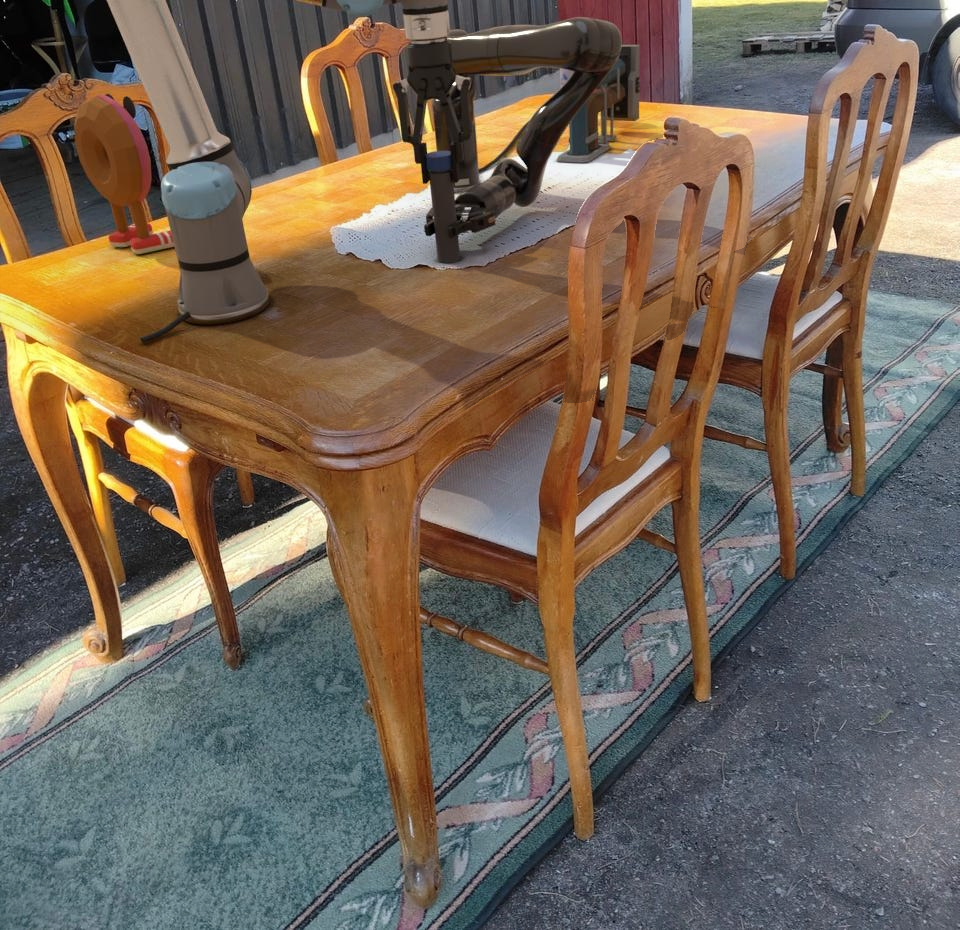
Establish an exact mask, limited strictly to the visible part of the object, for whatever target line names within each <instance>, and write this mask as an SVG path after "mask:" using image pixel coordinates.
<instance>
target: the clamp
mask: <svg viewBox="0 0 960 930" xmlns="http://www.w3.org/2000/svg"><path fill="white" fill-rule="evenodd" d="M640 50H641V45H640V44H622V47H621V52H620V55H619V57H618V59H617V61H616V63H615V65H614V66H613V68H612V69H611V70H610V72H609V73H608V74H607V75H606V77H605V78H604V79H603V80H602V82H601V83H600V84H599V85H598V87H597V88H596V89H595V90H598V91H596V92H593V93H592V94H591V96H590V97H589V98H588V99H587V101H586V102H585V103H584V104H583V106H582V107H581V108H580V110H579V111H578V112H577V114H576V115H575V116H574V118H573V119H572V120H571V122H570V123H569V125H568V128H569V129H568V130H569V136H568V143H569V149H568V150H566V151H564V152H562V153H560V154H558V156H557V158H556V161H558V162H566V163H583V164H584V163H589V162H591V161H593V160H594V159H596V158H597V157H599V156H601V155H602V154H604V153H605V152H607V151H609V150H610V149H611V148H612V147H611V146H610V142H614V141H616V140H618V136H617V135H615V134H614V121H615V122H636V121H637V120H640V77H641V76H640V72H641V71H640V69H641V67H640V66H641V65H640V64H641V63H640V61H641V60H640V59H641V51H640ZM599 113H600V132H599ZM608 121H610V127H609V128H610V131H609V134H608V124H607V123H608ZM599 133H600V134H599Z"/></svg>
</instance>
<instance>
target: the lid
mask: <svg viewBox="0 0 960 930" xmlns="http://www.w3.org/2000/svg"><path fill="white" fill-rule="evenodd" d="M425 157H426V158H425V161H426V169H427V170H428V171H435V172H437V171H446V170H450V169H452V163H451V151H437V150H435V151H430V152H427V154H426V155H425Z"/></svg>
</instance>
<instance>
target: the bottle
mask: <svg viewBox="0 0 960 930" xmlns="http://www.w3.org/2000/svg"><path fill="white" fill-rule="evenodd" d="M429 179H430V180H429V187H430V197H431V198H430V199H431V208H432V209H433V219H434V229H435V234H434V237H435V247H436V257H437V262H439V263H442V264H451V263H455V262H458V261H460V260H461V252H460V242H459V235H458V236H456V237H455V238H449V231H448V228H449V226H450V225H451V224H453V223H455V222H456V221H457V218H456V206H455V200H456V196H455V195H456V194H455V192H454V183H453V174H452V169H450V170H446V171H437V172H435V171H429Z"/></svg>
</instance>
